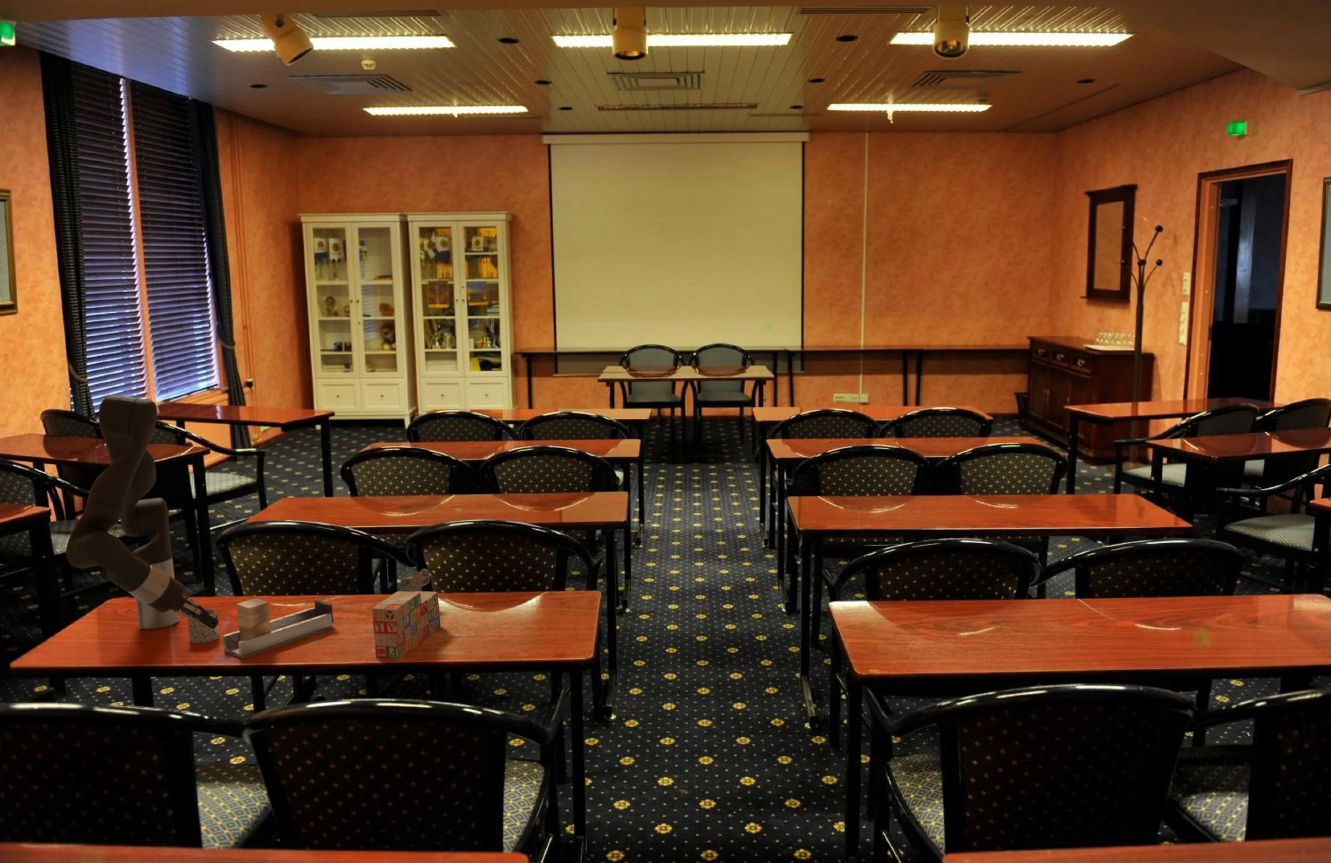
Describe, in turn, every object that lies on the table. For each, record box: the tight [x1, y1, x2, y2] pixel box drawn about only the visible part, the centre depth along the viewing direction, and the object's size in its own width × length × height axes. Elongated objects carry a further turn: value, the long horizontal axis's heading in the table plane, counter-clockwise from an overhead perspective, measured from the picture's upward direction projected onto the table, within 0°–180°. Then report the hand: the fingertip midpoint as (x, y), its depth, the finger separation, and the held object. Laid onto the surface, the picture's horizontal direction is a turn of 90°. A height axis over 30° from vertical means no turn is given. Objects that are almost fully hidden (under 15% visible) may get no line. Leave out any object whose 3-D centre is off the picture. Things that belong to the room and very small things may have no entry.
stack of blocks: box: [371, 590, 441, 659], centre depth 236 cm, size 21×6×12 cm, turn 167°
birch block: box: [236, 598, 271, 641], centre depth 235 cm, size 5×6×10 cm
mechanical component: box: [401, 568, 431, 592], centre depth 259 cm, size 3×10×10 cm, turn 161°
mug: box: [186, 608, 220, 645], centre depth 244 cm, size 10×7×7 cm
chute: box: [222, 599, 334, 660], centre depth 240 cm, size 25×8×6 cm, turn 141°
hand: (215, 624), depth 227 cm, fingers closed
